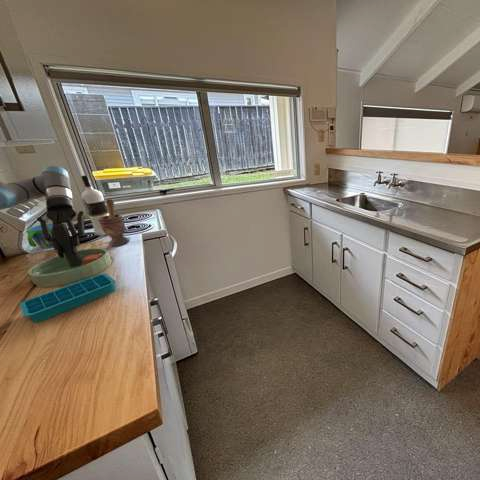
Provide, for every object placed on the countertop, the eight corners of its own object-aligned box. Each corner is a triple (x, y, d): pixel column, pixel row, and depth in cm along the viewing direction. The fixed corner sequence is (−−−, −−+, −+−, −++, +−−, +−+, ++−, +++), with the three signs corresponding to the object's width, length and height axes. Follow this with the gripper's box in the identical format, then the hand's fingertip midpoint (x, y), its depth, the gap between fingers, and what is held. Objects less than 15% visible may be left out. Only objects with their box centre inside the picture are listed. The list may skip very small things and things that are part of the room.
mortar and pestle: (106, 242, 123) (90, 201, 116) (128, 237, 129) (114, 197, 121) (109, 248, 115) (92, 205, 108) (132, 242, 121) (117, 201, 113)
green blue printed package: (46, 253, 113) (35, 232, 109) (23, 254, 114) (12, 233, 110) (77, 240, 128) (69, 220, 124) (57, 241, 128) (48, 221, 124)
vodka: (119, 232, 136) (98, 174, 125) (97, 237, 130) (73, 177, 118) (115, 229, 142) (94, 173, 130) (94, 234, 136) (70, 176, 124)
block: (86, 270, 94) (81, 260, 93) (92, 265, 98) (87, 255, 97) (100, 268, 96) (95, 258, 94) (105, 263, 99) (101, 253, 98)
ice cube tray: (119, 290, 82) (116, 282, 81) (30, 326, 67) (24, 317, 66) (108, 279, 88) (105, 272, 87) (24, 311, 74) (19, 302, 73)
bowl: (25, 296, 81) (17, 282, 79) (45, 269, 98) (39, 258, 96) (109, 275, 92) (103, 262, 90) (114, 254, 109) (110, 243, 107)
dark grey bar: (70, 267, 96) (51, 227, 90) (72, 264, 98) (54, 225, 92) (81, 265, 97) (62, 225, 91) (82, 262, 100) (65, 223, 94)
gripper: (90, 203, 106) (99, 253, 99) (36, 210, 98) (43, 265, 92) (82, 192, 100) (92, 244, 93) (25, 199, 92) (31, 257, 85)
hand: (68, 254), depth 92 cm, fingers closed on dark grey bar, 3 cm apart
